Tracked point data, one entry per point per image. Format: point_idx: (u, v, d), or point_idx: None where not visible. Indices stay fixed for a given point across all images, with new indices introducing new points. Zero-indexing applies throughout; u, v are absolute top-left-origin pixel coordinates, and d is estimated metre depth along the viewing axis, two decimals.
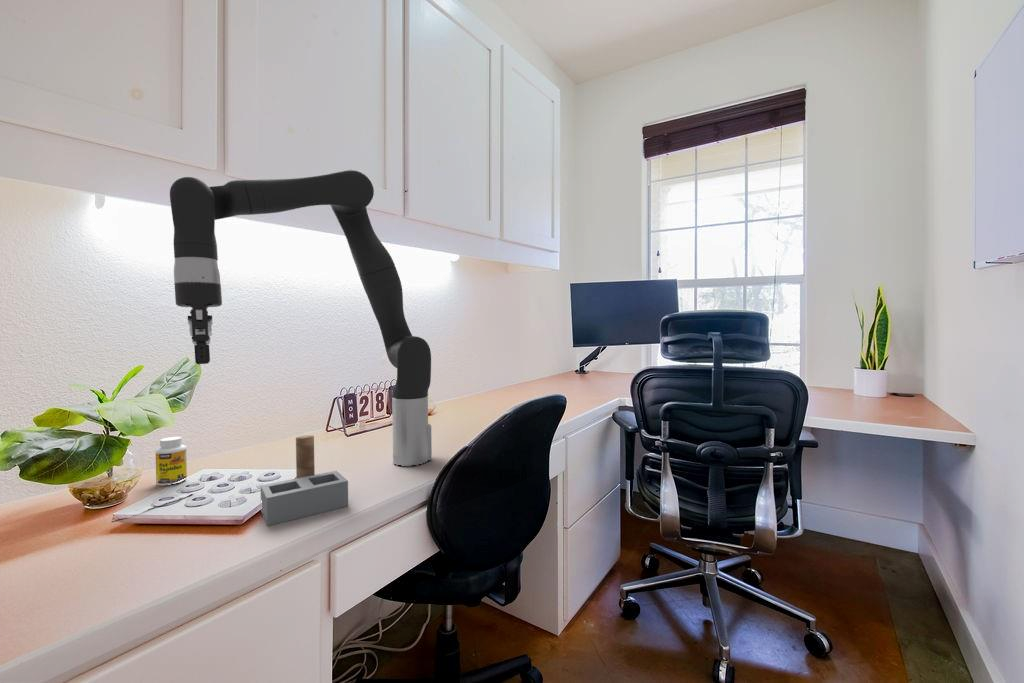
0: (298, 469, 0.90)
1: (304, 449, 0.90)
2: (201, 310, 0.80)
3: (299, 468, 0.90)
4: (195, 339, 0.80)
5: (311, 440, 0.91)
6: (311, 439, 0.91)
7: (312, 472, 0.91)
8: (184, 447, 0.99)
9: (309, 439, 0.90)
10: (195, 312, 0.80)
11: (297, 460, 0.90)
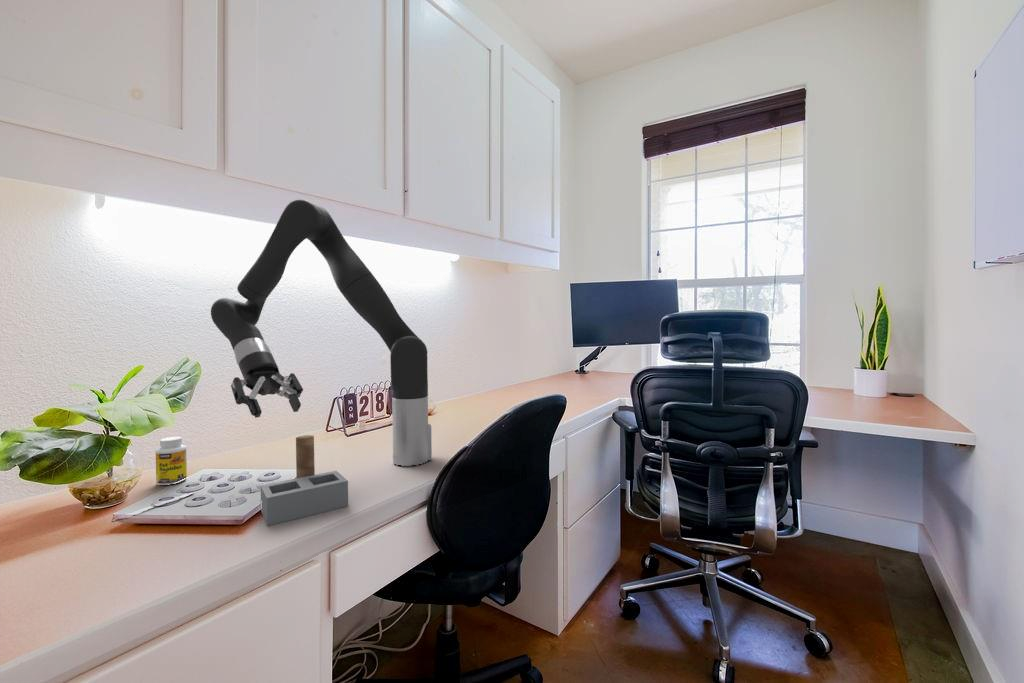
0: (298, 469, 0.90)
1: (304, 449, 0.90)
2: None
3: (299, 468, 0.90)
4: (238, 402, 0.95)
5: (311, 440, 0.91)
6: (311, 439, 0.91)
7: (312, 472, 0.91)
8: (184, 447, 0.99)
9: (309, 439, 0.90)
10: (231, 384, 0.97)
11: (297, 460, 0.90)
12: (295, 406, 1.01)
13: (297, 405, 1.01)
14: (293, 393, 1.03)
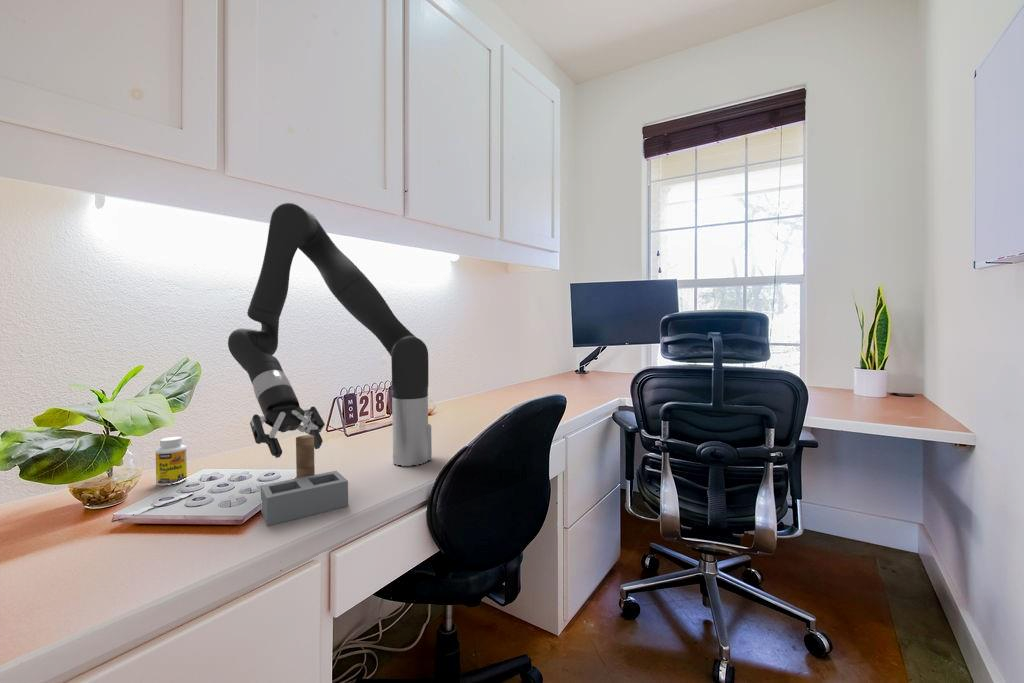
0: (298, 469, 0.90)
1: (304, 449, 0.90)
2: (252, 418, 0.91)
3: (299, 468, 0.90)
4: (258, 441, 0.90)
5: (311, 440, 0.91)
6: (311, 439, 0.91)
7: (312, 472, 0.91)
8: (184, 447, 0.99)
9: (309, 439, 0.90)
10: (251, 422, 0.92)
11: (297, 460, 0.90)
12: (317, 443, 0.96)
13: (319, 442, 0.96)
14: (314, 429, 0.97)
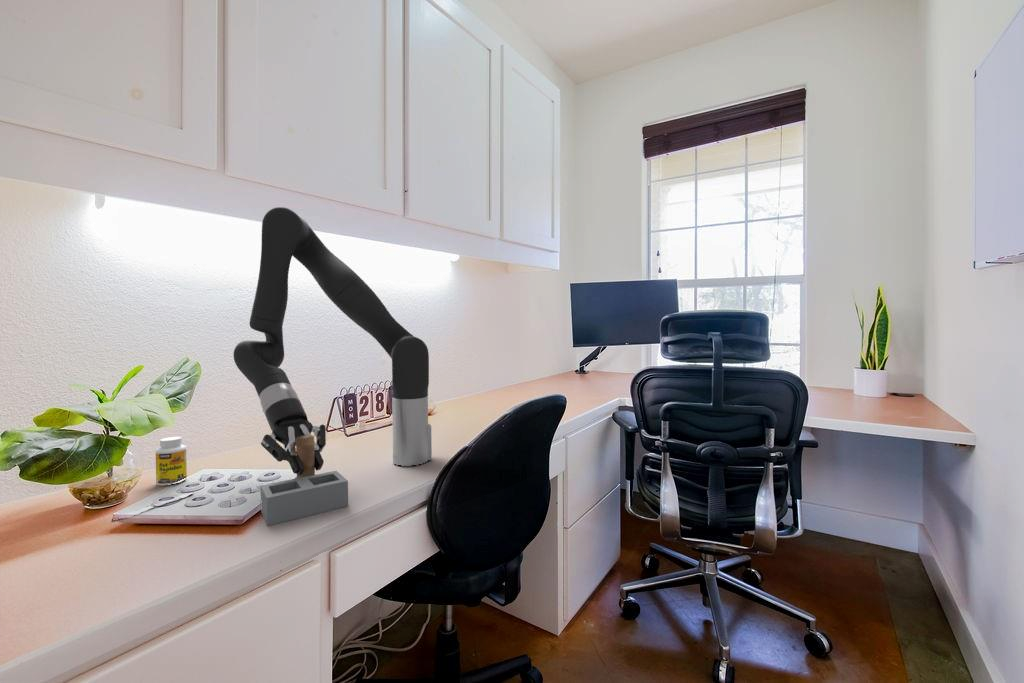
0: None
1: (304, 449, 0.90)
2: (263, 439, 0.89)
3: None
4: (279, 459, 0.89)
5: (311, 440, 0.91)
6: (311, 439, 0.91)
7: (312, 472, 0.91)
8: (184, 447, 0.99)
9: (309, 439, 0.90)
10: (262, 443, 0.89)
11: None
12: (317, 464, 0.92)
13: (320, 463, 0.91)
14: (315, 449, 0.93)
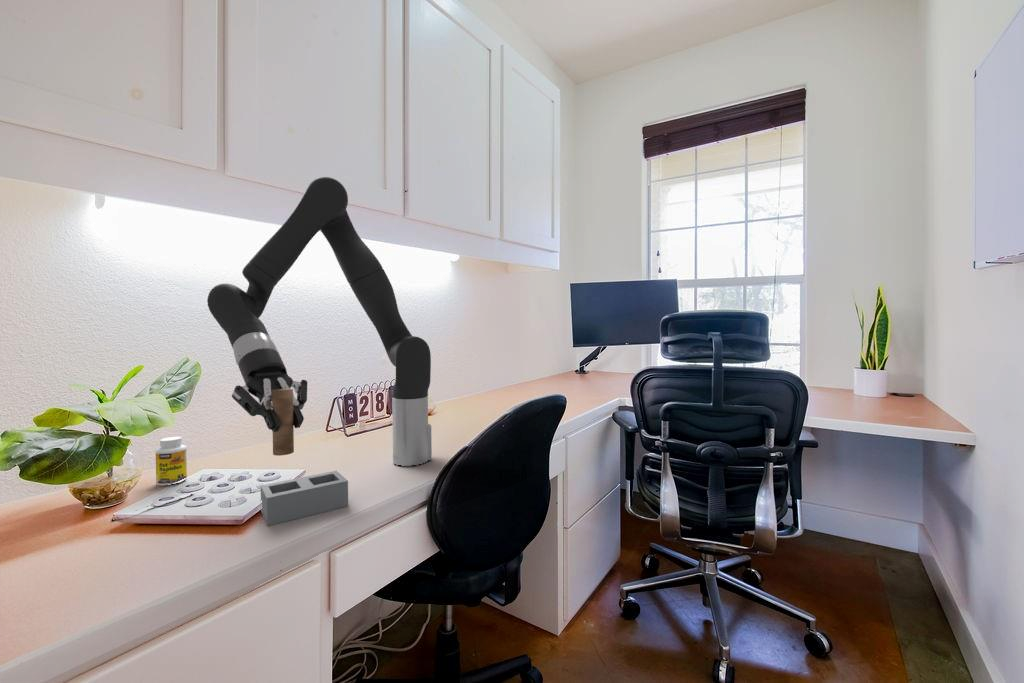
0: None
1: (281, 403, 0.79)
2: (234, 390, 0.78)
3: None
4: (252, 413, 0.78)
5: (289, 393, 0.80)
6: (289, 392, 0.80)
7: (290, 430, 0.80)
8: (184, 447, 0.99)
9: (287, 391, 0.80)
10: (233, 395, 0.78)
11: None
12: (297, 421, 0.81)
13: (299, 419, 0.81)
14: (294, 404, 0.82)
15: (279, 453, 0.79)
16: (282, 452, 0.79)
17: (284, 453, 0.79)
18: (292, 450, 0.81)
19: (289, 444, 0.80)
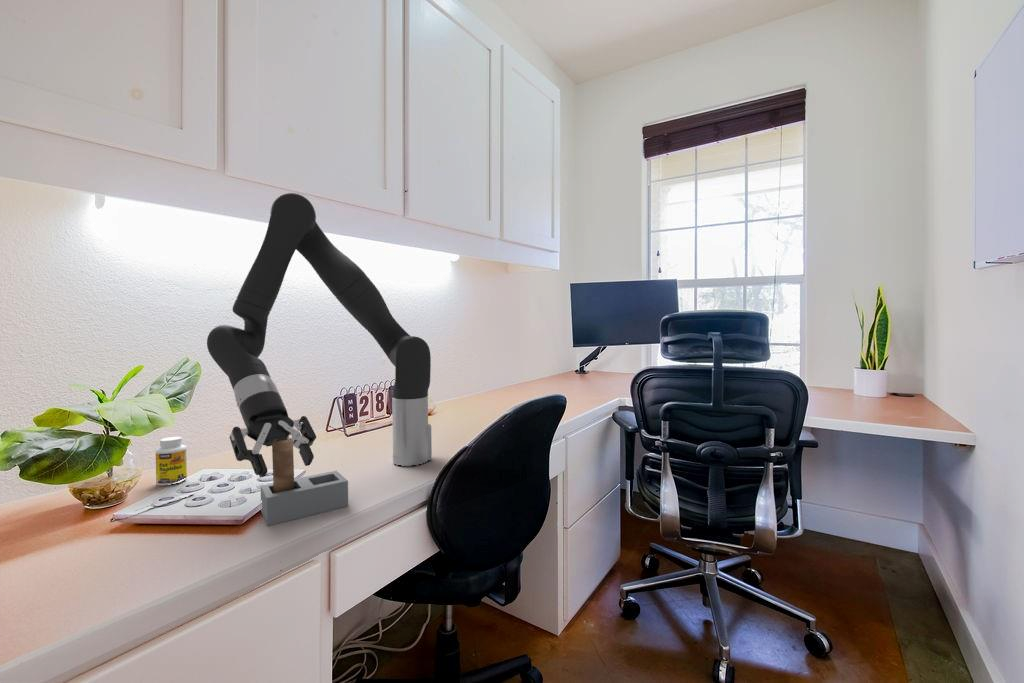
0: (275, 478, 0.79)
1: (282, 456, 0.79)
2: (232, 430, 0.79)
3: (276, 477, 0.79)
4: (239, 458, 0.77)
5: (289, 445, 0.80)
6: (289, 445, 0.80)
7: (291, 482, 0.80)
8: (184, 447, 0.99)
9: (287, 444, 0.80)
10: (230, 435, 0.79)
11: (274, 468, 0.79)
12: (307, 459, 0.83)
13: (309, 458, 0.83)
14: (304, 442, 0.85)
15: None
16: None
17: None
18: None
19: None
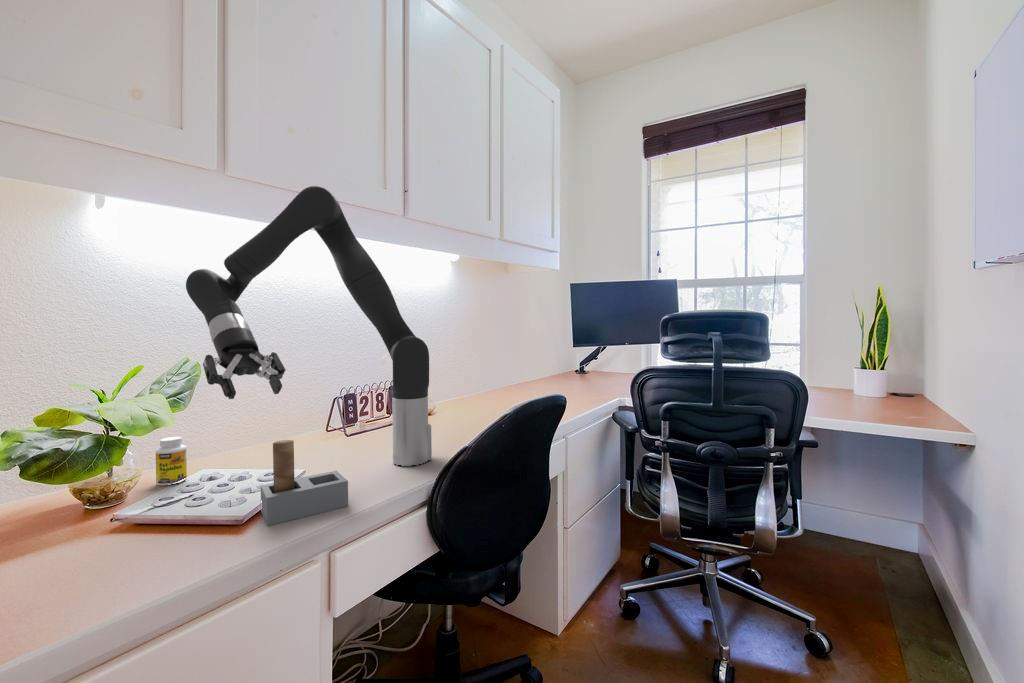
0: (275, 478, 0.79)
1: (282, 456, 0.79)
2: None
3: (276, 477, 0.79)
4: (210, 382, 0.85)
5: (290, 445, 0.80)
6: (290, 445, 0.80)
7: (291, 482, 0.80)
8: (184, 447, 0.99)
9: (288, 444, 0.80)
10: None
11: (274, 468, 0.79)
12: (275, 387, 0.91)
13: (278, 386, 0.91)
14: (274, 373, 0.92)
15: None
16: None
17: None
18: None
19: None
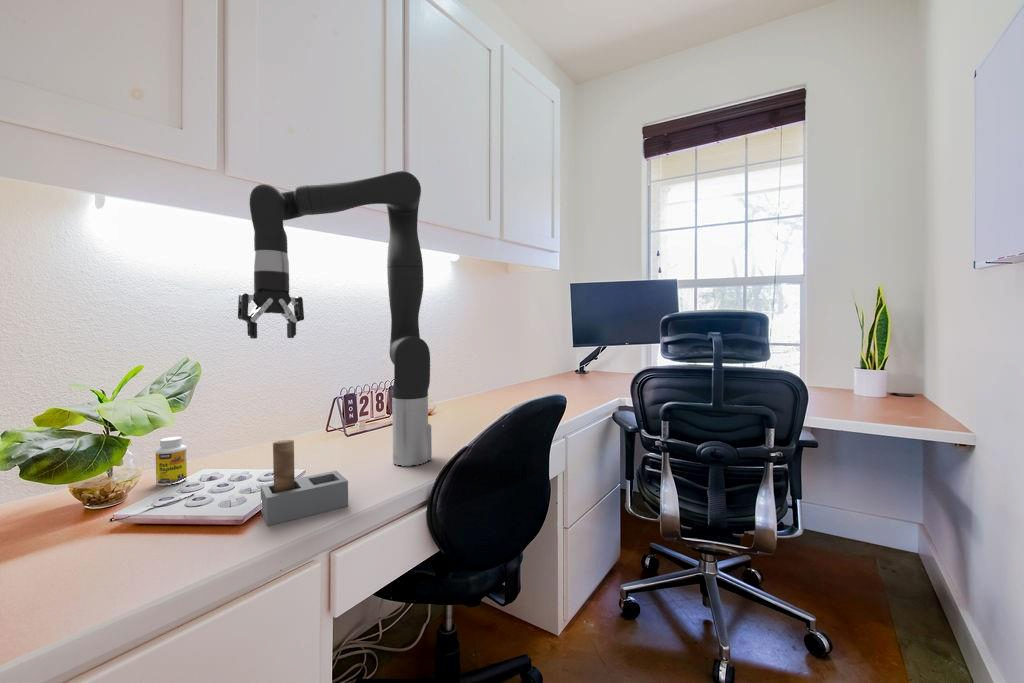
0: (275, 478, 0.79)
1: (282, 456, 0.79)
2: (242, 294, 0.98)
3: (277, 477, 0.79)
4: (240, 318, 0.99)
5: (290, 445, 0.80)
6: (290, 445, 0.80)
7: (291, 482, 0.80)
8: (184, 447, 0.99)
9: (288, 444, 0.80)
10: (239, 296, 0.98)
11: (274, 468, 0.79)
12: (290, 335, 1.06)
13: (292, 336, 1.06)
14: (293, 321, 1.06)
15: None
16: None
17: None
18: None
19: None
